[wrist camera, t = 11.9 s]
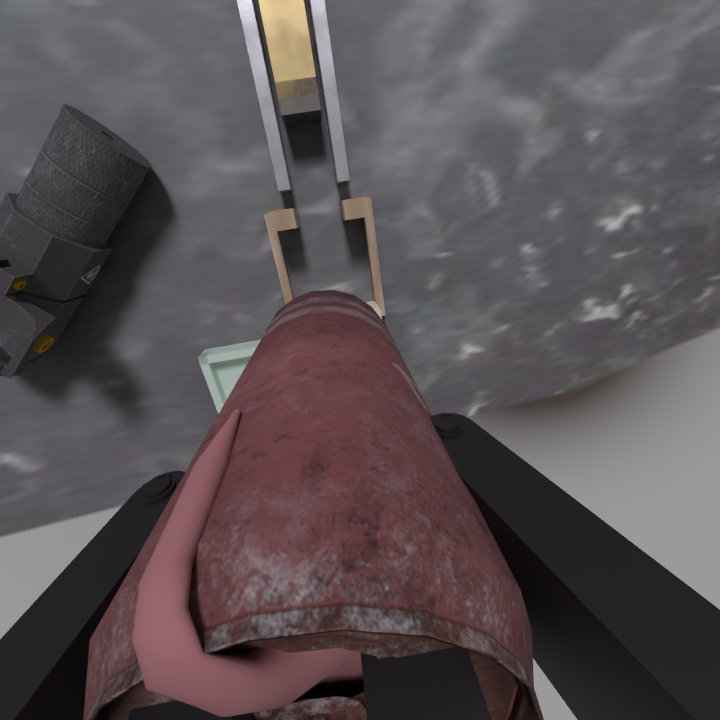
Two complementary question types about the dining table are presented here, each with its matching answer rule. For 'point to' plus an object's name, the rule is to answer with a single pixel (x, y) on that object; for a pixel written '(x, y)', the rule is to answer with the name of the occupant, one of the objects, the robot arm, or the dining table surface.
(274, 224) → the socket
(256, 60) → the keeper guide
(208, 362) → the pale green shallow tray
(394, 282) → the dining table surface
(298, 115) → the keeper bolt
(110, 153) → the laser sight
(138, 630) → the can
